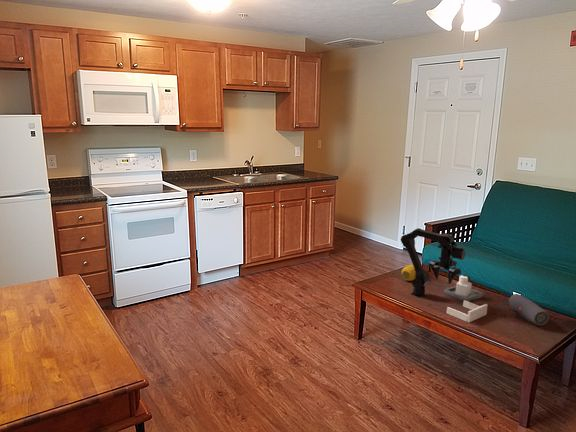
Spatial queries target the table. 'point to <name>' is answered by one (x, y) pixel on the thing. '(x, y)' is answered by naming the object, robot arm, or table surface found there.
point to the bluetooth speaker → (528, 309)
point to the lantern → (409, 273)
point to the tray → (470, 297)
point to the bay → (472, 314)
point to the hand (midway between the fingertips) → (443, 281)
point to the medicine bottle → (463, 286)
